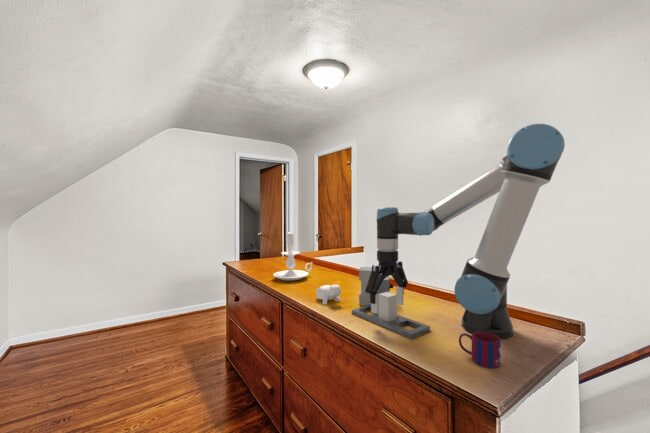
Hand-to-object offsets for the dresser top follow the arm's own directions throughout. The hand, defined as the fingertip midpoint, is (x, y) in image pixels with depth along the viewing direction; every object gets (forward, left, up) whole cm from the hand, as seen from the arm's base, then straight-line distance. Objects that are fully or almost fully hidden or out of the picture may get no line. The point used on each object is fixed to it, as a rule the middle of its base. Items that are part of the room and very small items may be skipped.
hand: (387, 308), depth 106 cm
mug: (-33, +1, -5) cm, 33 cm away
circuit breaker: (+17, -12, -5) cm, 21 cm away
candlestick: (+78, -7, -5) cm, 78 cm away
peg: (0, 0, -5) cm, 5 cm away
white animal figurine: (+31, +3, -5) cm, 32 cm away
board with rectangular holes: (0, 0, -5) cm, 5 cm away
